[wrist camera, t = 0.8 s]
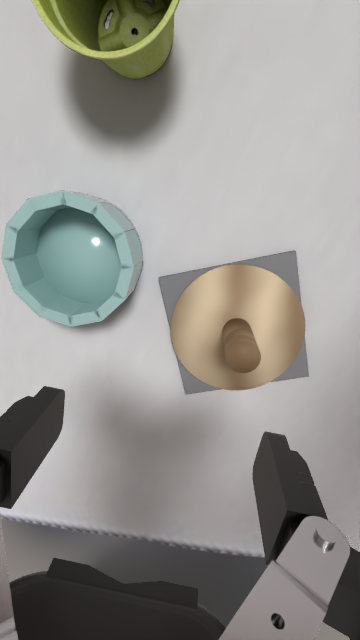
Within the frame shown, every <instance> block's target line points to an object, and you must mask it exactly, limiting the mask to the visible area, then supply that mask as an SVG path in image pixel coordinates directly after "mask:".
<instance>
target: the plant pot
mask: <svg viewBox="0 0 360 640" xmlns="http://www.w3.org/2000/svg"><path fill="white" fill-rule="evenodd" d="M153 1H154V2H155V6H153V7H152V6H151V5H150V4H148V3H147V2H145V1H143V0H32V2H33V4H34V6H35V8H36V10H37V12H38V14H39V16H40V17H41V19H42V21H43V22H44V24H45V25H46V26H47V27H48V29H49V30H50V31H51V32H52V33H53V35H54V36H55V37H56V38H57V39H58V40H60V41H61V42H62V43H63V44H64V45H66V46H67V47H68V48H70V49H71V50H73V51H75V52H77V53H79V54H81V55H84V56H86V57H89V58H93V59H99V60H102V61H103V62H104V63H106V64H107V65H108V66H109V67H110V68H112V69H113V70H114V71H115V72H117V73H118V74H120V75H122V76H124V77H127V78H132V79H140V78H142V77H145V76H147V75H150V74H152V73H153V72H155V71H157V70H158V69H159V68H160V67H161V66H162V65H163V63H164V62H165V60H166V59H167V57H168V55H169V52H170V50H171V46H172V41H173V28H174V13H175V10H176V8H177V6H178V4H179V1H180V0H153ZM110 10H113V12H114V13H113V15H112V18H111V20H110V22H109V28H108V29H107V30H106V29H105V25H104V24H105V19H106V17H107V14H108V13H109V11H110ZM133 28H135V29H137V31H138V34H137V35H136V36H134V35H132V33H131V31H132V29H133Z"/></svg>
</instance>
